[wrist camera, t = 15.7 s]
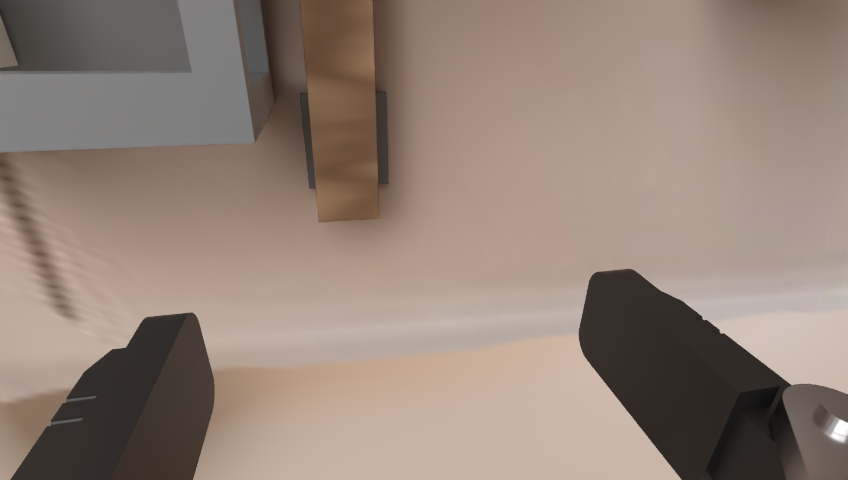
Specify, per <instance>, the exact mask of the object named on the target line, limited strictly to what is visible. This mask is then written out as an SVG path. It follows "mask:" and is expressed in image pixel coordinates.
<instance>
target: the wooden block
mask: <svg viewBox="0 0 848 480" xmlns="http://www.w3.org/2000/svg"><path fill="white" fill-rule="evenodd" d="M300 8H301V20H302V32H303V43H304V55H305V67H306V78H307V90H308V102H309V113H310V125H311V137H312V148H313V160H314V172H315V183H316V195H317V207H318V218H319V222H331V221H346V220H362V219H377V218H379V201H378V166H377V132H376V97H375V62H374V28H373V0H300Z"/></svg>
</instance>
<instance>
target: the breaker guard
mask: <svg viewBox="0 0 848 480" xmlns="http://www.w3.org/2000/svg"><path fill="white" fill-rule="evenodd" d="M0 15H1V18H2V21H3V24H4V26H5V29H6V32H7V35H8V38H9V40H10V43H11V46H12V49H13V51H14V54H15V57H16V60H17V63H18V65H19V66H11V67H3V68H0V152H25V151H53V150H80V149H107V148H134V147H162V146H189V145H216V144H243V143H255V142H256V140H257V138H258V136H259V134H260V132H261V130H262V128H263V126H264V124H265V122H266V120H267V118H268V116H269V114H270V112H271V110H272V108H273V106H274V104H275V102H274V94H273V87H272V79H271V71H270V63H269V56H268V48H267V40H266V32H265V25H264V17H263V9H262V1H261V0H0Z"/></svg>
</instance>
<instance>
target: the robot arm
mask: <svg viewBox="0 0 848 480" xmlns="http://www.w3.org/2000/svg"><path fill="white" fill-rule="evenodd" d="M579 341H580V346H581V349H582V352H583V354H584V356H585V357H586V359H587V360H588V361H589V363H590V364H591V365H592V367H593V368H594V369H595V371H596V372H597V373H598V374H599V376H600V377H601V378H602V379H603V381H604V382H605V383H606V384H607V386H608V387H609V388H610V390H611V391H612V392H613V393H614V395H615V396H616V397H617V398H618V400H619V401H620V402H621V403H622V405H623V406H624V407H625V408H626V410H627V411H628V412H629V413H630V415H631V416H632V417H633V418H634V420H635V421H636V422H637V424H638V425H639V426H640V427H641V429H642V430H643V431H644V432H645V434H646V435H647V436H648V437H649V439H650V440H651V441H652V443H653V444H654V445H655V446H656V448H657V449H658V450H659V451H660V453H661V454H662V455H663V457H664V458H665V459H666V460H667V462H668V463H669V464H670V465H671V467H672V468H673V469H674V470H675V472H676V473H677V474H678V476H679V477H680V478H681V479H682V480H848V394H845V393H843V392H840V391H837V390H834V389H831V388H827V387H824V386H819V385H812V384H797V385H791V384H789V383H788V382H787V381H785V380H784V379H782V378H781V377H780V376H779V375H777V374H776V373H775V372H774V371H772V370H771V369H770V368H768V367H767V366H766V365H764V364H763V363H762V362H761V361H759V360H758V359H757V358H755V357H754V356H753V355H751V354H750V353H749V352H748V351H746V350H745V349H744V348H742V347H741V346H740V345H738V344H737V343H736V342H735V341H733V340H732V339H731V338H729V337H728V336H727V335H725V334H720V331H719V329H718V328H716V327H715V326H713V325H712V324H711V323H710V322H709V321H707V320H703V319H702V316H701V315H699V314H698V313H697V312H695V311H694V310H693V309H692V308H690V307H689V306H688V305H686V304H685V303H684V302H682V301H681V300H679V299H676V298H674V297H672V296H670V295H668V294H666V293H664V292H662V291H660V290H659V289H657V288H656V287H655V286H653V285H652V284H651V283H650V282H648V281H647V280H646V279H645V278H643V277H642V276H641V275H640V274H638V273H637V272H636V271H634V270H632V269H623V270H613V271H604V272H596V273H594V274H593V275H592V277H591V279H590V281H589V285H588V290H587V295H586V300H585V304H584V309H583V314H582V319H581V323H580V328H579ZM213 405H214V379H213V374H212V370H211V366H210V363H209V359H208V355H207V351H206V347H205V344H204V340H203V336H202V332H201V328H200V325H199V321H198V319H197V317H196V315H195V314H194V313H183V314H173V315H163V316H153V317H147V318H145V319H144V320H143V321H142V322H141V324H140V326H139V327H138V329H137V330H136V332H135V334H134V335H133V337H132V339H131V340H130V342H129V344H128V345H127V347H126V348H121V349H112V350H111V351H110V352H109V353H107V354H106V355H105V356H104V357H102V358H101V359H100V360H99V361H97V362H96V363H95V364H94V365H92V366H91V367H90V368H89V369H88V370H86V371H85V372H84V373H83V375H82V376H81V378H80V379H79V381H78V382H77V383H76V385H75V386H74V388H73V389H72V391H71V392H70V394H69V395H68V397H67V402H66V403H63V404H62V405H61V407H60V408H59V410H58V411H57V413H56V414H55V416H54V417H53V418H52V420H51V426H48V427H46V429H45V430H44V432H43V433H42V435H41V436H40V437H39V439H38V440H37V442H36V443H35V445H34V446H33V448H32V449H31V450H30V452H29V454H28V455H27V456H26V458H25V459H24V461H23V462H22V464H21V465H20V467H19V468H18V469H17V471H16V472H15V474H14V475H13V477H12V478H11V480H193V477H194V474H195V471H196V467H197V463H198V459H199V456H200V453H201V449H202V446H203V442H204V439H205V435H206V432H207V428H208V425H209V421H210V418H211V414H212V411H213Z"/></svg>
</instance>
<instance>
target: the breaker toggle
mask: <svg viewBox="0 0 848 480" xmlns="http://www.w3.org/2000/svg"><path fill="white" fill-rule="evenodd" d="M11 66H19V65H18V63H17V60H16V57H15V54H14V51H13V49H12V46H11V43H10V40H9V38H8V35H7V32H6V29H5V26H4V24H3V21H2V18H1V15H0V68H3V67H11Z"/></svg>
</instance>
